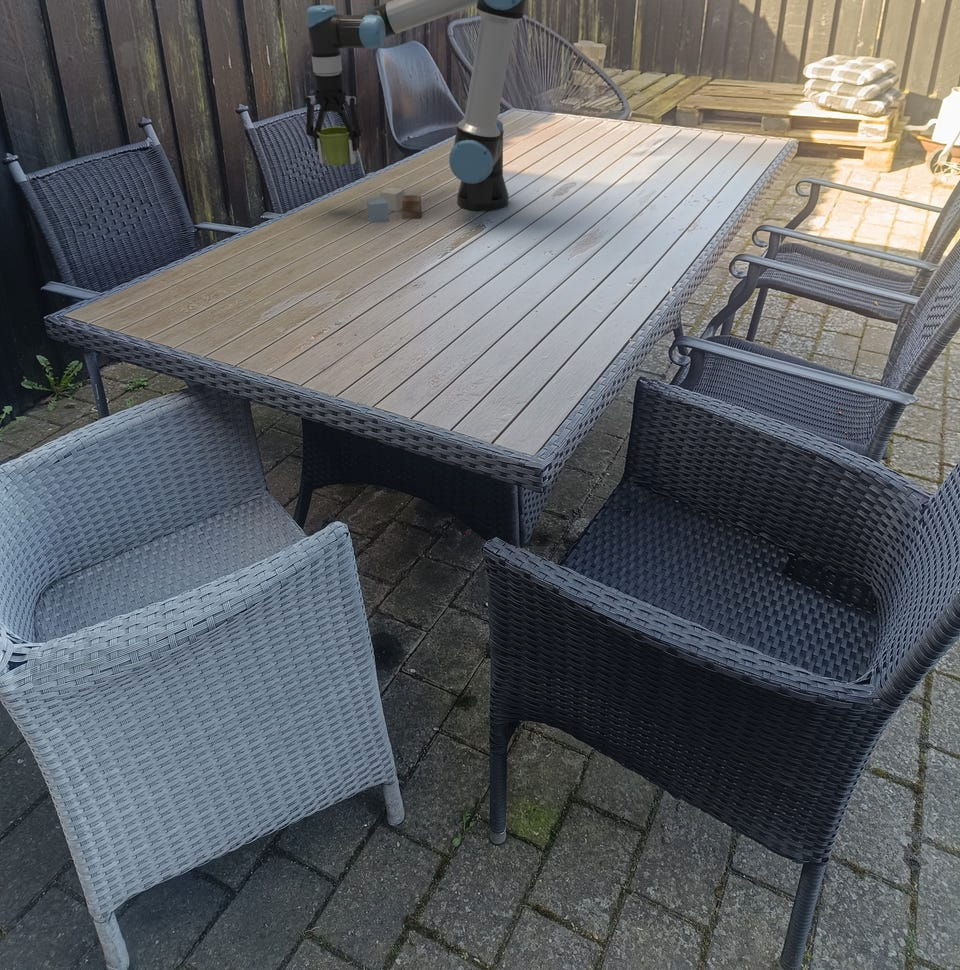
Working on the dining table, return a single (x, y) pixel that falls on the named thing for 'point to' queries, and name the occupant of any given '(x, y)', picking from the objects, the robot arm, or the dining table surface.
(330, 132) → the plant pot
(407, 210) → the walnut block
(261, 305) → the dining table surface
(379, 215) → the slate blue block
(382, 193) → the cream block
